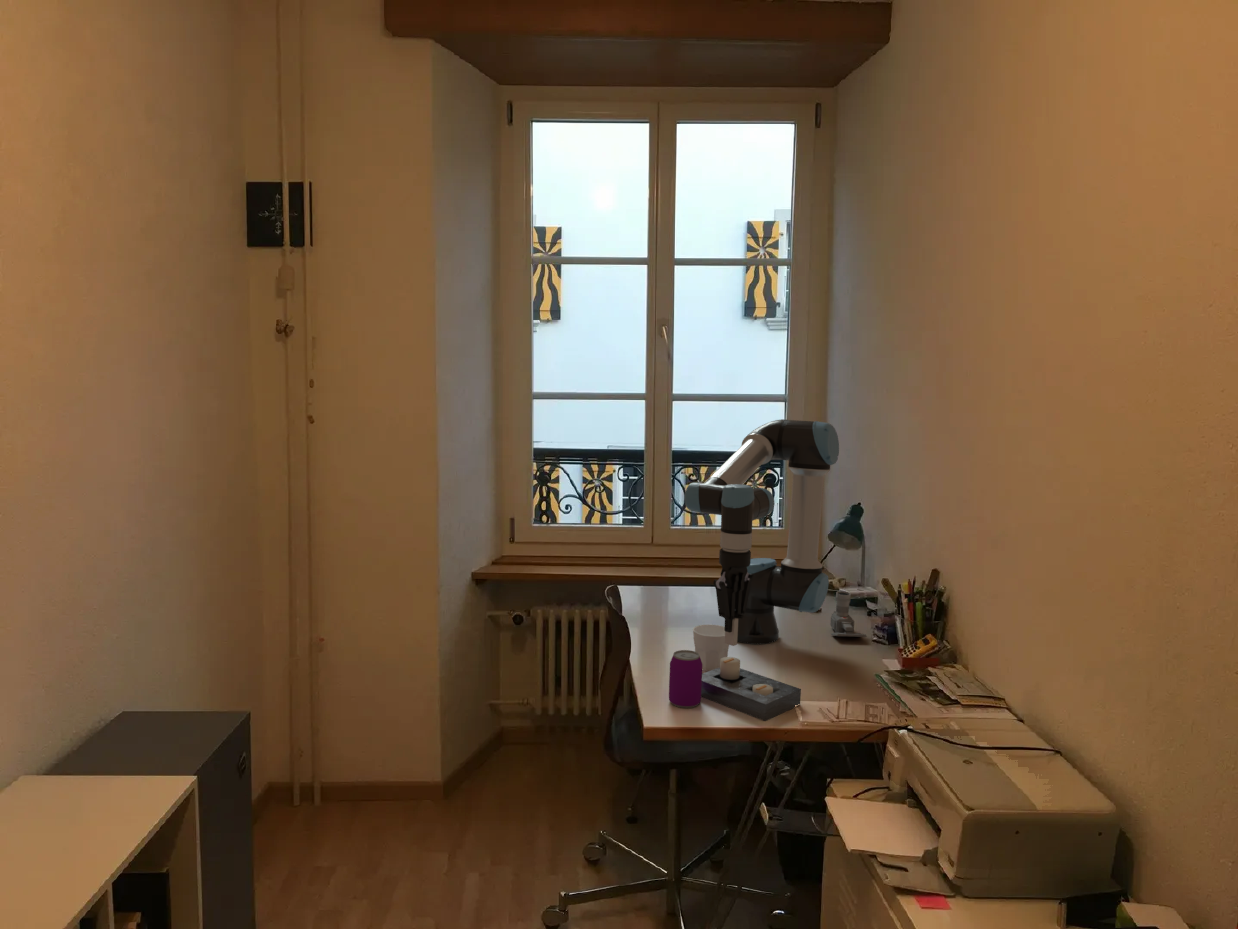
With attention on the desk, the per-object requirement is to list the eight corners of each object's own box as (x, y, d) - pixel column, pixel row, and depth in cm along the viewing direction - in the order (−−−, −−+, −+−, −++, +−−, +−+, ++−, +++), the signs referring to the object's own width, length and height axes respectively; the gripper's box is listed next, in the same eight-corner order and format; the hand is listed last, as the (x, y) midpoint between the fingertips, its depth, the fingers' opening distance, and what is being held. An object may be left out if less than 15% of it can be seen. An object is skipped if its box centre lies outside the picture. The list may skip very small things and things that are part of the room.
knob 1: (728, 671, 217) (728, 654, 217) (743, 676, 214) (744, 659, 213) (715, 675, 214) (716, 659, 213) (731, 681, 211) (732, 664, 210)
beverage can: (664, 706, 205) (666, 657, 204) (674, 694, 212) (675, 647, 211) (695, 711, 203) (697, 662, 201) (704, 699, 210) (706, 651, 208)
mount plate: (727, 679, 224) (728, 664, 223) (800, 705, 208) (801, 689, 207) (691, 693, 214) (692, 677, 213) (764, 721, 198) (765, 704, 198)
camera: (854, 590, 268) (868, 605, 253) (852, 627, 270) (866, 644, 255) (826, 589, 268) (838, 604, 253) (824, 626, 270) (836, 643, 255)
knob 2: (759, 698, 211) (760, 681, 210) (776, 704, 207) (777, 687, 207) (747, 703, 207) (748, 686, 207) (764, 709, 204) (765, 692, 203)
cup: (690, 659, 238) (692, 624, 237) (727, 660, 238) (729, 625, 236) (692, 672, 228) (694, 635, 227) (731, 673, 228) (732, 637, 226)
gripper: (739, 543, 217) (735, 635, 220) (705, 549, 208) (701, 645, 211) (764, 548, 212) (759, 642, 214) (730, 555, 203) (726, 653, 205)
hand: (730, 643), depth 213 cm, fingers closed
